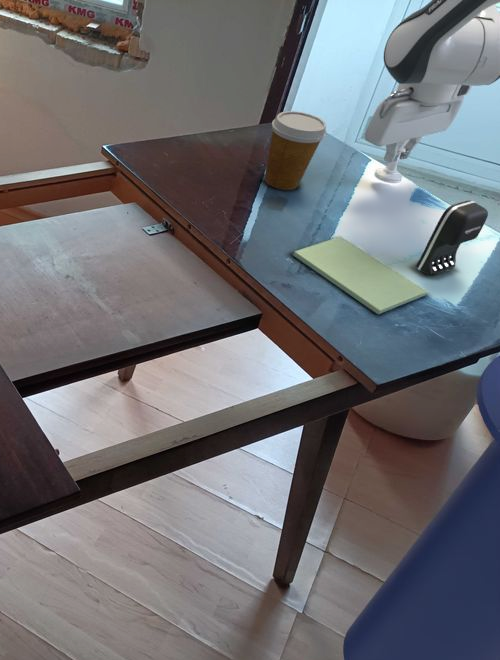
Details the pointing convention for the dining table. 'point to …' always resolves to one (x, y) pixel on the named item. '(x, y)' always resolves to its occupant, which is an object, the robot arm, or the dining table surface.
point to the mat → (360, 274)
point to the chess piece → (391, 168)
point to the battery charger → (451, 236)
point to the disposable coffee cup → (292, 148)
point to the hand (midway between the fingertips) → (395, 159)
